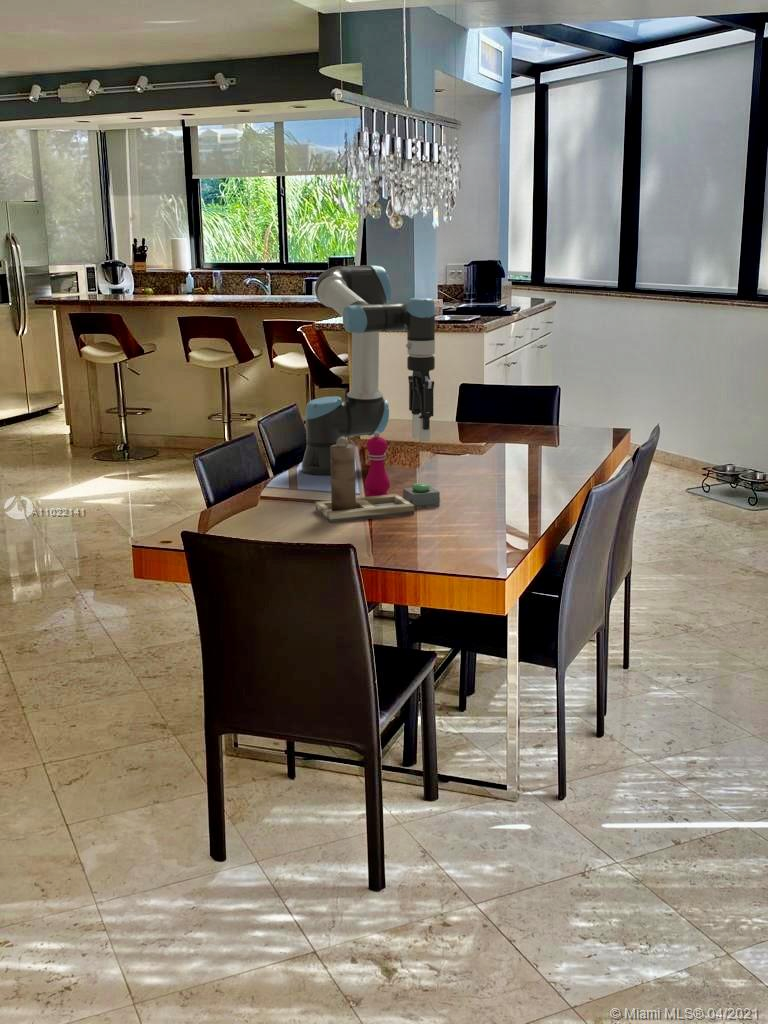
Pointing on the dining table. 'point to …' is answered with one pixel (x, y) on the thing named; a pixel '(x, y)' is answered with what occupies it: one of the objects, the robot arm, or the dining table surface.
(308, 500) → the dining table surface
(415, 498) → the button box
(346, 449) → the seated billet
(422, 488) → the button
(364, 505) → the divided tray
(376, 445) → the pepper mill
